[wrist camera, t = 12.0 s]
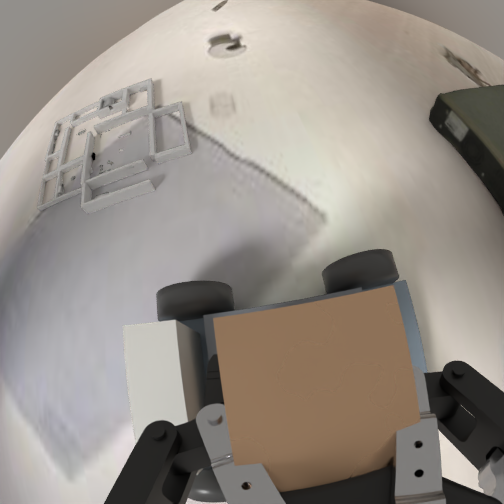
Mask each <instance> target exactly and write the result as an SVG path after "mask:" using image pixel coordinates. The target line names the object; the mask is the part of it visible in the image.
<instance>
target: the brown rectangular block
mask: <svg viewBox="0 0 504 504" xmlns="http://www.w3.org/2000/svg"><path fill="white" fill-rule="evenodd" d="M213 322H214V330H215V338H216V347H217V354H218V362H219V370H220V377H221V384H222V391H223V398H224V405H225V411H226V418H227V424H228V430H229V436H230V442H231V448H232V454H233V460H234V465H235V466H239V465H249V464H259V463H262V465H263V467H264V468H265V470H266V472H267V474H268V475H269V477H270V479H271V480H272V482H273V484H274V485H275V487H276V489H277V490H278V492H286V491H293V490H299V489H304V488H310V487H315V486H320V485H324V484H329V483H333V482H337V481H341V480H345V479H349V478H353V477H356V476H360V475H363V474H367V473H370V472H373V471H376V470H379V469H382V468H385V467H388V466H391V465H393V452H394V445H395V438H396V431H398V430H401V429H404V428H406V427H409V426H412V425H414V424H417V423H419V422H421V421H420V413H419V405H418V398H417V391H416V385H415V379H414V373H413V367H412V362H411V357H410V352H409V347H408V342H407V337H406V333H405V328H404V324H403V320H402V316H401V312H400V308H399V304H398V300H397V296H396V292H395V289H394V285H391V286H387V287H382V288H378V289H373V290H369V291H364V292H359V293H355V294H350V295H345V296H340V297H335V298H330V299H325V300H320V301H315V302H309V303H304V304H298V305H293V306H287V307H281V308H276V309H270V310H264V311H257V312H251V313H245V314H238V315H231V316H224V317H217V318H213ZM247 490H249V489H247Z"/></svg>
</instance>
